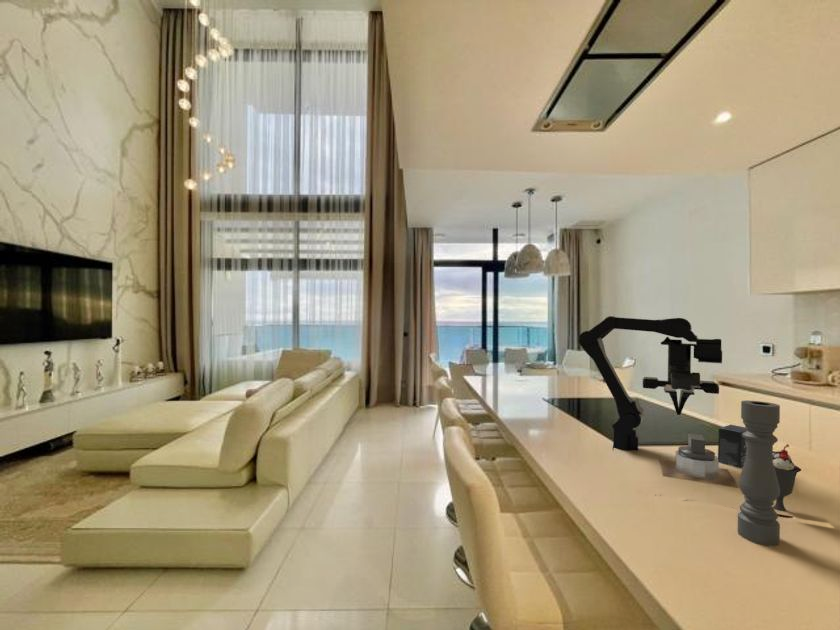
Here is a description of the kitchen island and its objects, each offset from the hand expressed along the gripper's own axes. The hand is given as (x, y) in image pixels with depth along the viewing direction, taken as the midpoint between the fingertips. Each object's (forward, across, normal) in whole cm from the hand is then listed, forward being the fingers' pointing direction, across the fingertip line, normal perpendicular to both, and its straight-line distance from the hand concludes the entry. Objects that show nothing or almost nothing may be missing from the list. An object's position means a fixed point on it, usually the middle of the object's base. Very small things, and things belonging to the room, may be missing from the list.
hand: (678, 414), depth 125 cm
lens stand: (+13, +3, -13) cm, 19 cm away
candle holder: (+13, +9, -45) cm, 48 cm away
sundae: (+13, +16, -30) cm, 36 cm away
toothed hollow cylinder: (+12, +3, -13) cm, 18 cm away
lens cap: (+11, +3, -13) cm, 17 cm away
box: (+13, +14, +2) cm, 19 cm away
